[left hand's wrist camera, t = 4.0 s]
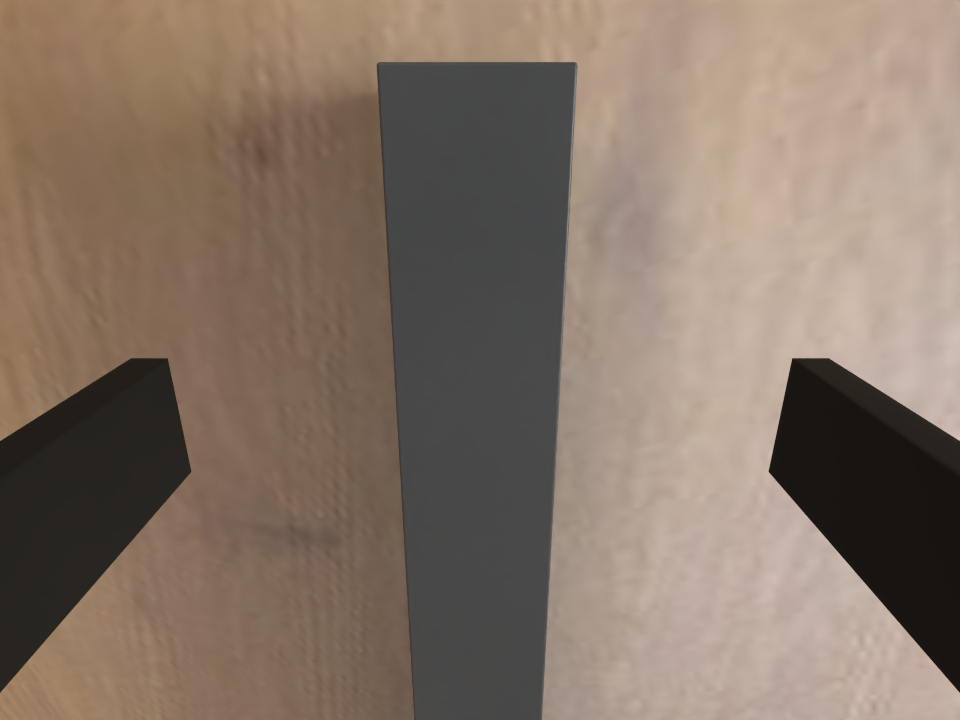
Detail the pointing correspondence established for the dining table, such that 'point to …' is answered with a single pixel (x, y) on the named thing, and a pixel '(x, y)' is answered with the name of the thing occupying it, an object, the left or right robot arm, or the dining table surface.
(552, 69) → the post
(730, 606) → the dining table surface
